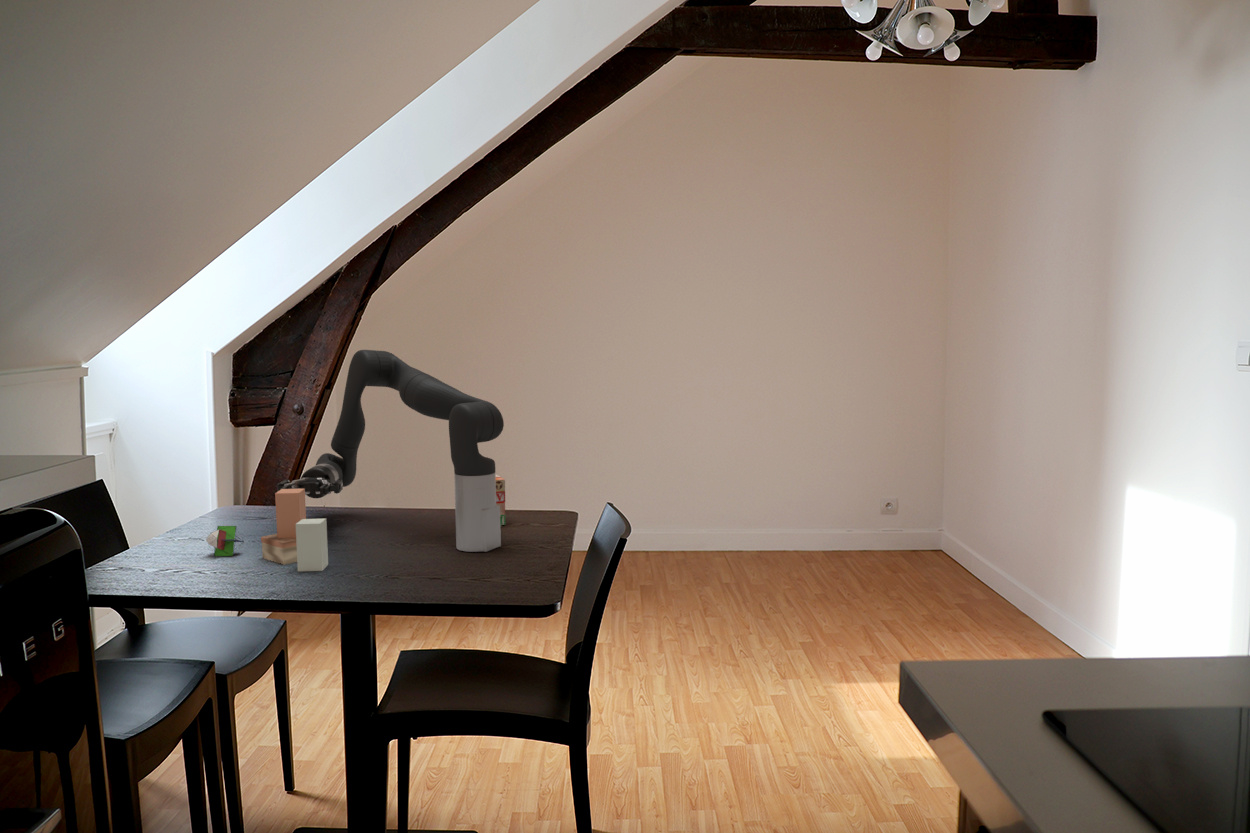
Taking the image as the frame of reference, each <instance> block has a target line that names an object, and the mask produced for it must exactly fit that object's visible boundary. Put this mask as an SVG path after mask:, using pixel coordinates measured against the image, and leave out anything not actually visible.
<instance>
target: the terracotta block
mask: <svg viewBox="0 0 1250 833" xmlns="http://www.w3.org/2000/svg"><path fill="white" fill-rule="evenodd" d="M274 495H275V497H274V498H275V516H276V517H275V518H276V521H275V522H276V534H277V539H286V538H296V523H298V522H299V521H300V520H302V519H307V509H306V508H307V507H306V494H305V489H292V488H290V489H281V490H279V491H278V492H277V491H276V492H275V493H274Z"/></svg>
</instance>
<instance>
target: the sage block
mask: <svg viewBox="0 0 1250 833" xmlns="http://www.w3.org/2000/svg"><path fill="white" fill-rule="evenodd" d="M296 544H297V562H296V564H297V572H323V571H324V570H325V569H326V568H327V567H328V566H329V552H328V525H327V518H306V519H302V520H300V521H299V522H298V523H296Z"/></svg>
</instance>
